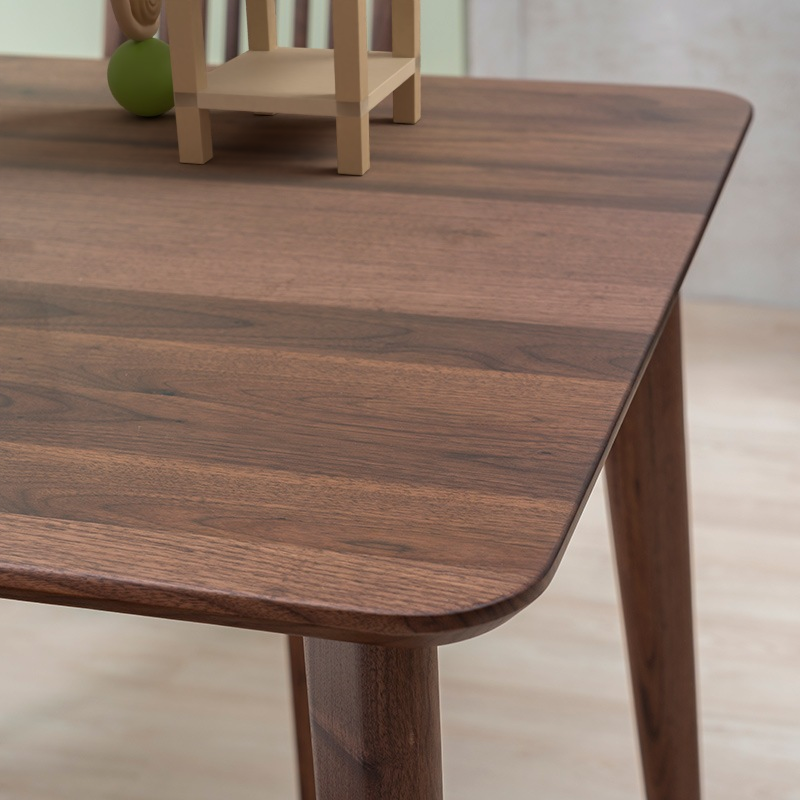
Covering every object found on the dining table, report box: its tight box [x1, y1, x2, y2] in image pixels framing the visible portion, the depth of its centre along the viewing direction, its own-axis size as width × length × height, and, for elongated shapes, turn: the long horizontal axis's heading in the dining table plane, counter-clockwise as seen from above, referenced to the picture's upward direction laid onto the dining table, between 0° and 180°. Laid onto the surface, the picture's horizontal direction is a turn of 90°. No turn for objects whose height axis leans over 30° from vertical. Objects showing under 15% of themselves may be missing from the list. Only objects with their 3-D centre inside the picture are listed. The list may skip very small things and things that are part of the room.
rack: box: [164, 0, 422, 176], centre depth 81 cm, size 12×14×12 cm
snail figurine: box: [106, 0, 175, 117], centre depth 86 cm, size 5×6×12 cm
